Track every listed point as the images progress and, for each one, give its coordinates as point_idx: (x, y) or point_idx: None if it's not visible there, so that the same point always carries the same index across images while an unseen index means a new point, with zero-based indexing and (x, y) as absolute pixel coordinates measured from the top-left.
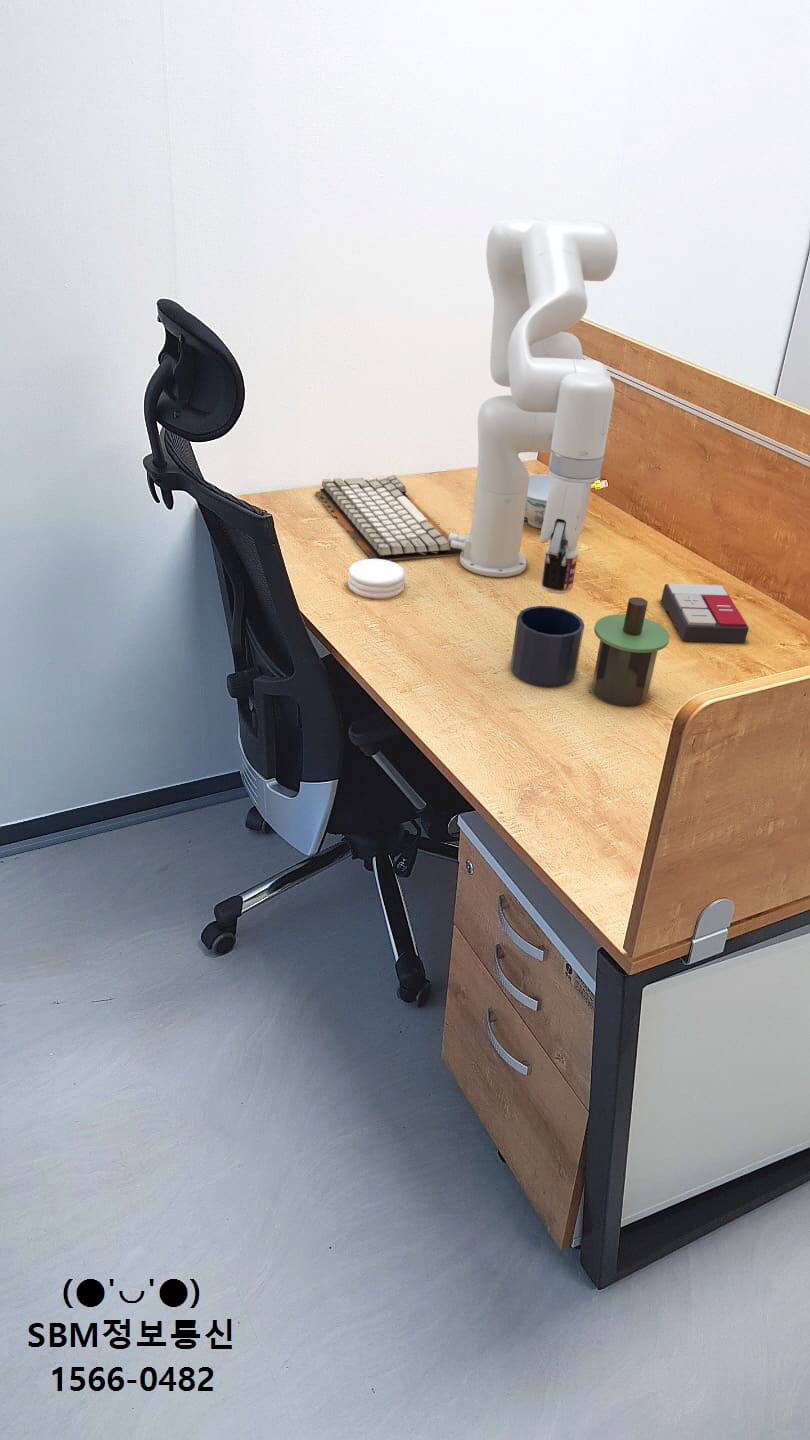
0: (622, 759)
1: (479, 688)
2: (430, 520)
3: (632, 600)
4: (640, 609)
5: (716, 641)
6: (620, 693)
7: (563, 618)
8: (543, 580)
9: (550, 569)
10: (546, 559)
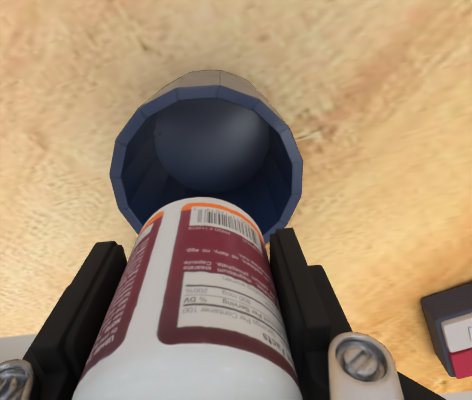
0: (39, 305)
1: (60, 38)
2: None
3: None
4: None
5: (429, 331)
6: None
7: (283, 190)
8: (86, 258)
9: (30, 351)
10: (113, 320)
